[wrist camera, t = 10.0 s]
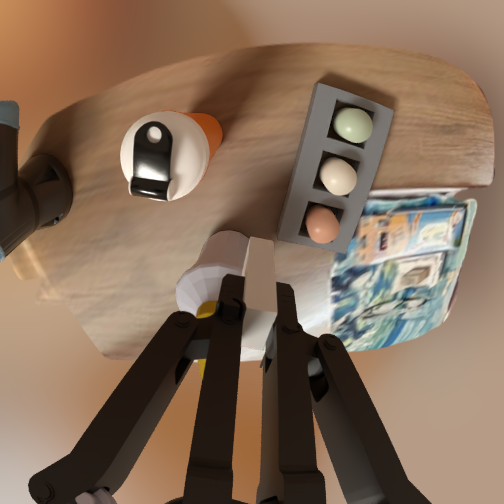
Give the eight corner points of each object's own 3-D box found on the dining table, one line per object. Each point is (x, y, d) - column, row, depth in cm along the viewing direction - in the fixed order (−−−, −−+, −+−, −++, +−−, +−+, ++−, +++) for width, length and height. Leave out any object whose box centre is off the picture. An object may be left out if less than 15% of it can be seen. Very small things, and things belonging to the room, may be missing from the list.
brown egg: (301, 228, 44) (304, 239, 41) (309, 201, 42) (313, 211, 38) (328, 234, 45) (333, 246, 41) (337, 208, 42) (343, 218, 39)
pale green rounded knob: (329, 133, 36) (335, 136, 33) (336, 103, 34) (344, 103, 30) (358, 142, 36) (367, 147, 33) (366, 113, 34) (376, 115, 30)
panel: (276, 231, 46) (277, 239, 44) (314, 84, 33) (318, 82, 31) (341, 245, 47) (345, 253, 45) (386, 109, 34) (394, 110, 32)
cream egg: (315, 182, 40) (320, 190, 37) (323, 153, 38) (329, 158, 34) (343, 190, 40) (350, 199, 37) (352, 162, 38) (361, 168, 35)
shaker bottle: (230, 107, 36) (201, 110, 19) (228, 163, 41) (201, 213, 23) (172, 108, 36) (103, 118, 19) (172, 162, 41) (112, 211, 23)
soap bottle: (196, 276, 52) (163, 387, 31) (193, 215, 45) (140, 320, 24) (263, 281, 52) (262, 398, 31) (269, 220, 45) (273, 333, 24)
